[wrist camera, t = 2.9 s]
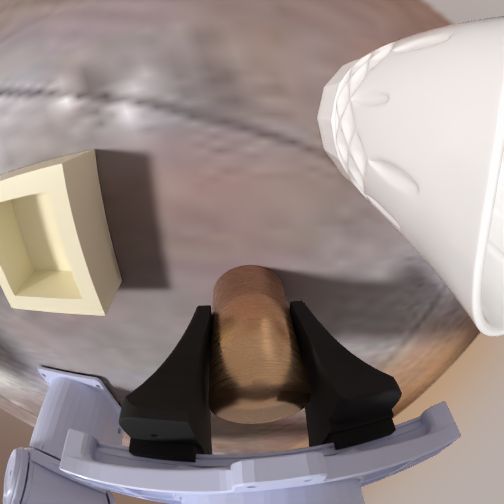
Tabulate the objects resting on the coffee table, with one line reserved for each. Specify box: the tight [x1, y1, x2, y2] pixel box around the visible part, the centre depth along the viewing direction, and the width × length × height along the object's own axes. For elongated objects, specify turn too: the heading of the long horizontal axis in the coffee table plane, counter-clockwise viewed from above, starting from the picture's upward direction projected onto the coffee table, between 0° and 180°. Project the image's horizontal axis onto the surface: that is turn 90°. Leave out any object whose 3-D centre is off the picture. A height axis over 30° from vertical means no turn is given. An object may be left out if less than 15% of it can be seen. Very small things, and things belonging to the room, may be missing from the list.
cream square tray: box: [0, 149, 122, 316], centre depth 11 cm, size 8×8×3 cm
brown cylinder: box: [208, 265, 311, 424], centre depth 12 cm, size 4×4×7 cm
